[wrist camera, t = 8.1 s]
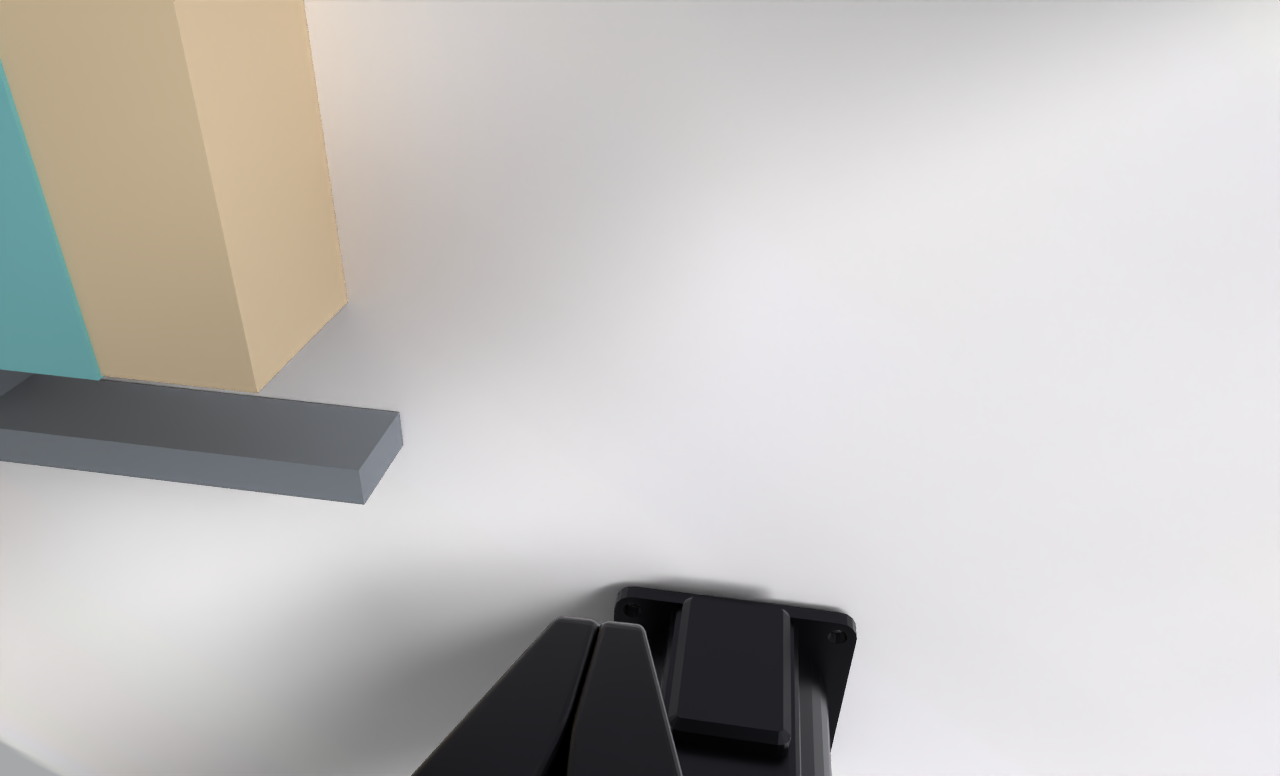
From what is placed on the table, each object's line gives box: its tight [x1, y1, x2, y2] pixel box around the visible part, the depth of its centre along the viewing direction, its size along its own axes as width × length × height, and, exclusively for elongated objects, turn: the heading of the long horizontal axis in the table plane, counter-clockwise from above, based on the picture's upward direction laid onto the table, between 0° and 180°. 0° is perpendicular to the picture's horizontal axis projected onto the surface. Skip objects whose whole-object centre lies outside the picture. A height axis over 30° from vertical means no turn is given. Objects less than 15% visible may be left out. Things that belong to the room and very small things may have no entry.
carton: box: [0, 0, 348, 393], centre depth 17 cm, size 9×9×5 cm
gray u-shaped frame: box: [0, 369, 403, 505], centre depth 19 cm, size 14×11×2 cm
